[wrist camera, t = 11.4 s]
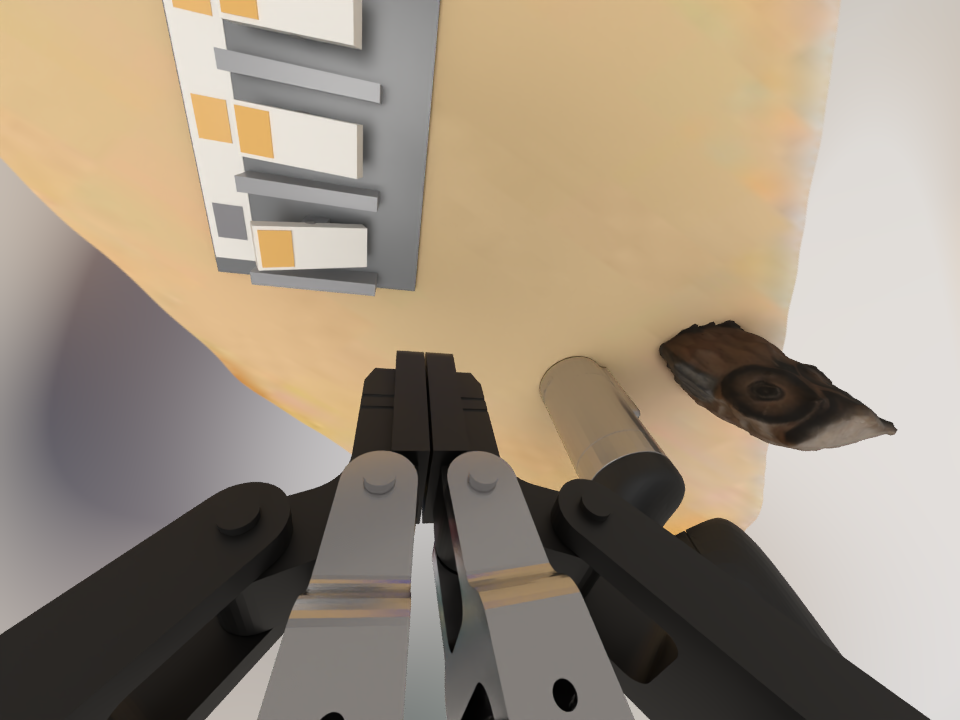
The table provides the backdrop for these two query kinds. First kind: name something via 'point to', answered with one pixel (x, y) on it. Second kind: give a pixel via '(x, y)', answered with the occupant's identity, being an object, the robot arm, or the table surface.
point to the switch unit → (323, 92)
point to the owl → (767, 390)
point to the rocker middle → (298, 139)
